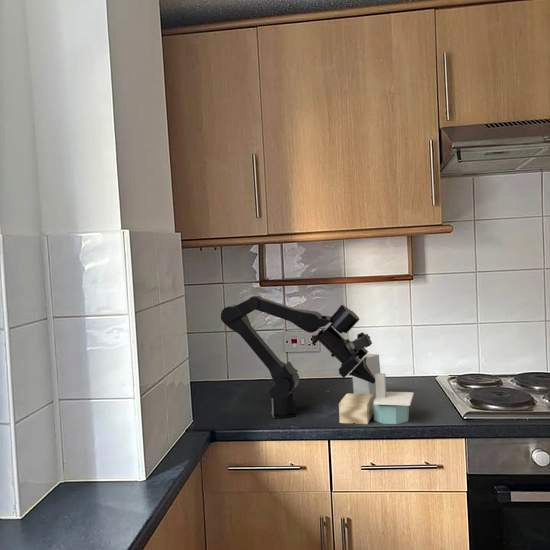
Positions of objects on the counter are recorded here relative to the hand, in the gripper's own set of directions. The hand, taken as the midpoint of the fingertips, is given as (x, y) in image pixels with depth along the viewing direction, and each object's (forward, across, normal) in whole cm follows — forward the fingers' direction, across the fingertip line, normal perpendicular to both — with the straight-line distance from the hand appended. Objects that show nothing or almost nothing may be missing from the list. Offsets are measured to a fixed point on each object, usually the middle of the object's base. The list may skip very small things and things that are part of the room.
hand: (375, 382), depth 172 cm
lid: (+7, 0, 0) cm, 7 cm away
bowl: (+10, 0, +4) cm, 11 cm away
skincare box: (+3, +22, +12) cm, 25 cm away
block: (+4, 0, +12) cm, 12 cm away
